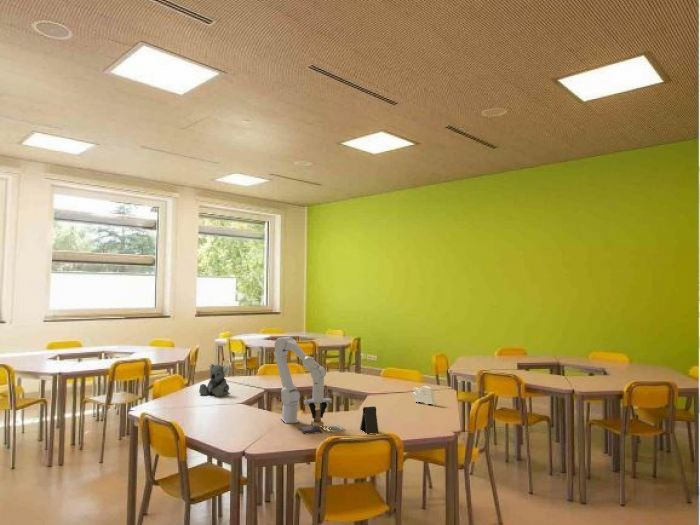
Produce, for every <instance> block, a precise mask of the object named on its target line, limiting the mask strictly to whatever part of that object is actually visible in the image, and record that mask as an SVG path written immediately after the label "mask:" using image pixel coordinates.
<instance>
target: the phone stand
mask: <svg viewBox="0 0 700 525" xmlns="http://www.w3.org/2000/svg"><path fill="white" fill-rule="evenodd" d="M361 416H362V418H361V422H360V427H359V430H360V431H361V430H362V431H361V432H363V431H364V432H365V434H366V433H367V434H366V435H370V434H369V433H377V434H379V433H380V432H379V425H378V416H377V408H376V406H364V407H363V408H362V414H361ZM364 432H363V433H364Z"/></svg>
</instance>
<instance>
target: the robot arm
mask: <svg viewBox="0 0 700 525" xmlns="http://www.w3.org/2000/svg"><path fill="white" fill-rule="evenodd" d="M273 346H274V359H275V363H276V366H277V370H278V373H279V377H280V381H281V385H282V388H281V391H280V394H281V395H280V396H281V397H280V400H281V403H283V405H282V407H281V409H282V410H281V417H280V418H281V419H283V421H284V422H285V423H284V422H283V421H282V422H283V423H284V424H294V423H295V424H296V423H300V420H298V403H299V401H300V399H301V394H300V392H299V390H298V389H297V386H296V385H295V384H294V383H293V379H292V375H291V372H290V368H289V364H288V360H287V357H286V355H287V354H288V352H289V351H291V352H293V354H295V356H297V357H298V358H299V359H300V360H301V361H302V365H303V366H304V368H306V370H308V371H309V373H310V376H311V378H312V396H311V397H312V398H310V399H308V398H307V399H303V404H304V405H308V407H309V410H310V413H311V417H312V419H313V420H314V419H315V409H317V408H316V404H319V409H321V419H323V418H324V413H325V411H326V408H327V407H328V404H329V403H330V404H333V403H332V402H333V399H332V398H327V397H326V398H325V397H324V394H325V393H324V390H325V378H326V376H327V370H326V368H325V367H324V366H321V365H320V364H319V363H318V362H317V361H316V360H315V357H313V356H311V355H309V356H308V355H307V354H306V353H305V352H304V350H303V349H302V348H301V347H300V345H299V344H298V342H297V341H296V340H295V339H294V338H293V337H292V336H290V335H289V336H283V337H281V336H280V337H278V338H277V339H276V340H275V341H274V344H273ZM281 419H280V420H281Z"/></svg>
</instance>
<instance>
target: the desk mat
mask: <svg viewBox="0 0 700 525" xmlns="http://www.w3.org/2000/svg"><path fill="white" fill-rule="evenodd" d="M322 427H323V428H324V427H325V429H326V428H327V427H329V428H328V429H329V430H330V432H329V433H333V432H332V431H335V432H344V431H343V430H346V429H345V428H343V427H342V426H341V425H339V424H334V425H325V426H322ZM330 428H331V429H330ZM327 431H328V430H327V429H326V431H325V432H326V433H328V432H327Z"/></svg>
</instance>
